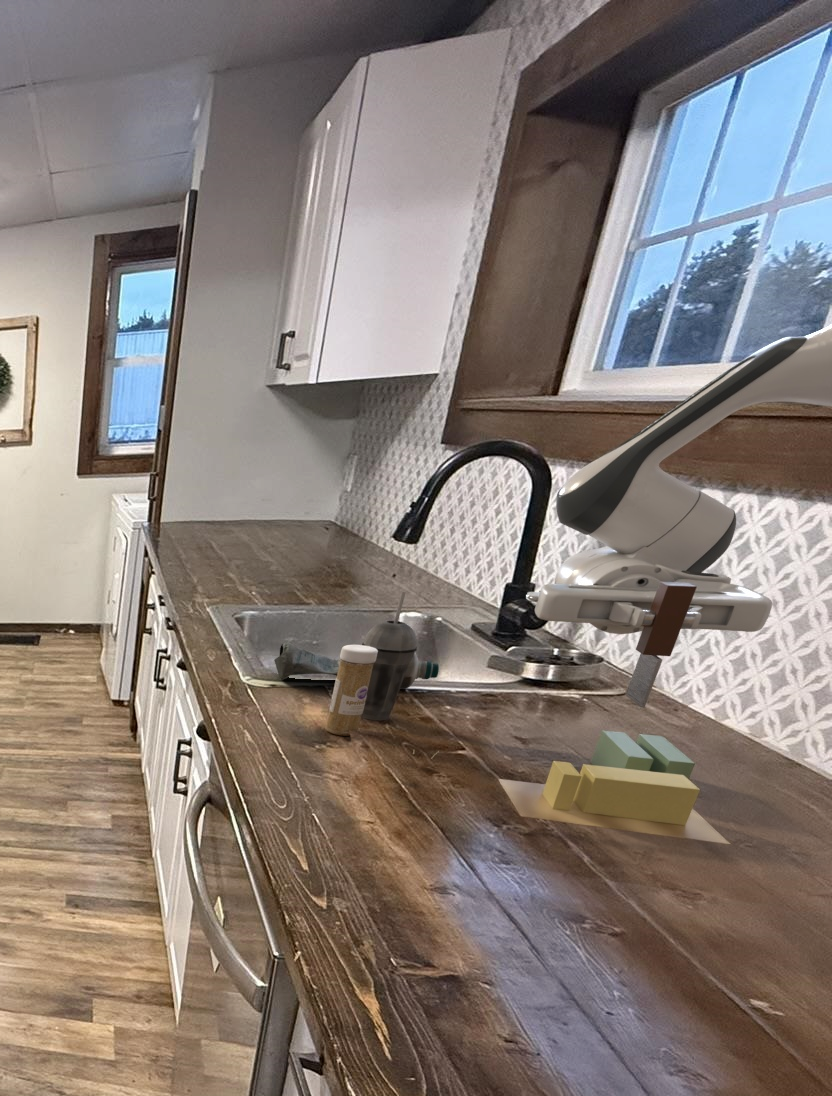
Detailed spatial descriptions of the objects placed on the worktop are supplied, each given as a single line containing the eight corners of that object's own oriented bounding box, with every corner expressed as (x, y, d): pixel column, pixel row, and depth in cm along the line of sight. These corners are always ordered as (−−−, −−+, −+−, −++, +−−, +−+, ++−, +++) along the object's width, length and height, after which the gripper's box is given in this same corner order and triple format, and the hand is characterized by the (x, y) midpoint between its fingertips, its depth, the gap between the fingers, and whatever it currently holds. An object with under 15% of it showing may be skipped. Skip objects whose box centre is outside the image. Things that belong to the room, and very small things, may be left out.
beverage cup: (340, 716, 134) (367, 594, 126) (353, 705, 139) (380, 586, 131) (392, 726, 129) (424, 599, 121) (404, 714, 134) (435, 591, 126)
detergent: (269, 685, 150) (438, 699, 138) (276, 646, 148) (448, 657, 136) (272, 672, 161) (429, 684, 148) (278, 636, 158) (438, 645, 146)
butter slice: (558, 796, 101) (570, 762, 99) (569, 810, 97) (581, 776, 96) (541, 794, 102) (553, 760, 100) (552, 808, 98) (564, 774, 96)
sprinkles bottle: (348, 738, 125) (368, 652, 120) (318, 730, 129) (336, 646, 123) (364, 732, 127) (384, 647, 122) (334, 724, 131) (352, 642, 126)
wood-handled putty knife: (640, 696, 99) (683, 580, 94) (656, 708, 95) (702, 588, 90) (614, 694, 100) (655, 579, 95) (628, 706, 96) (672, 587, 91)
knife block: (645, 778, 108) (662, 735, 106) (677, 808, 100) (695, 763, 98) (586, 771, 111) (601, 730, 109) (612, 800, 103) (629, 756, 100)
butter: (669, 809, 97) (683, 774, 95) (685, 825, 93) (700, 789, 91) (571, 797, 101) (583, 763, 99) (582, 812, 97) (595, 777, 95)
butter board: (680, 812, 99) (685, 800, 99) (725, 856, 90) (731, 844, 89) (494, 789, 107) (497, 778, 106) (517, 827, 97) (521, 816, 97)
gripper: (529, 568, 108) (559, 588, 96) (745, 575, 99) (806, 597, 88) (515, 616, 110) (543, 640, 99) (724, 627, 101) (781, 655, 90)
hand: (668, 620), depth 93 cm, fingers closed on wood-handled putty knife, 2 cm apart
